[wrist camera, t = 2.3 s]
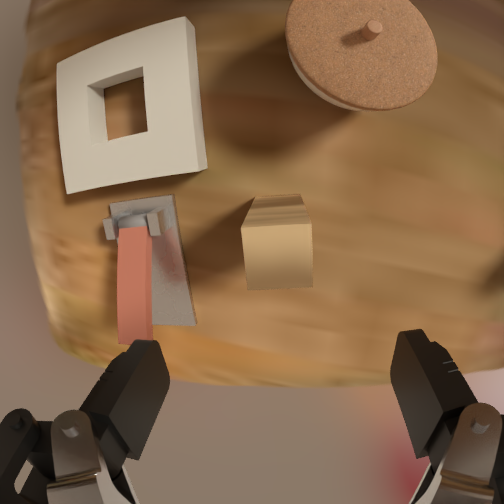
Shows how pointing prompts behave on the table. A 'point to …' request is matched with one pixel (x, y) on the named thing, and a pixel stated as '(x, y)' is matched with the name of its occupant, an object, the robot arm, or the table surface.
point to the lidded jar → (361, 51)
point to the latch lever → (134, 279)
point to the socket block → (156, 99)
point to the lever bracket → (161, 257)
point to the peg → (277, 243)
